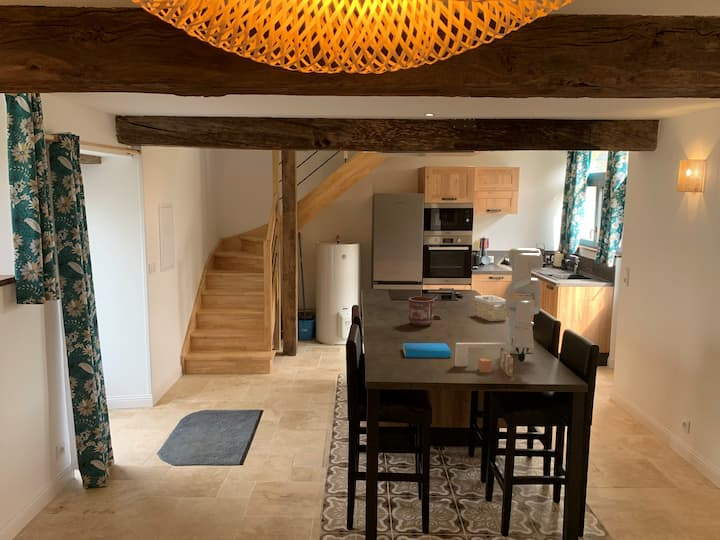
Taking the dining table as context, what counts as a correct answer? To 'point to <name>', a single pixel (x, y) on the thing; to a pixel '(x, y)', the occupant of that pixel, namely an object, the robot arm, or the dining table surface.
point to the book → (426, 350)
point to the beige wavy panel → (506, 362)
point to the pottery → (421, 311)
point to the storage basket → (490, 307)
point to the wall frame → (462, 348)
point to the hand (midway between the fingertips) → (521, 360)
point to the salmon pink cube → (484, 364)
